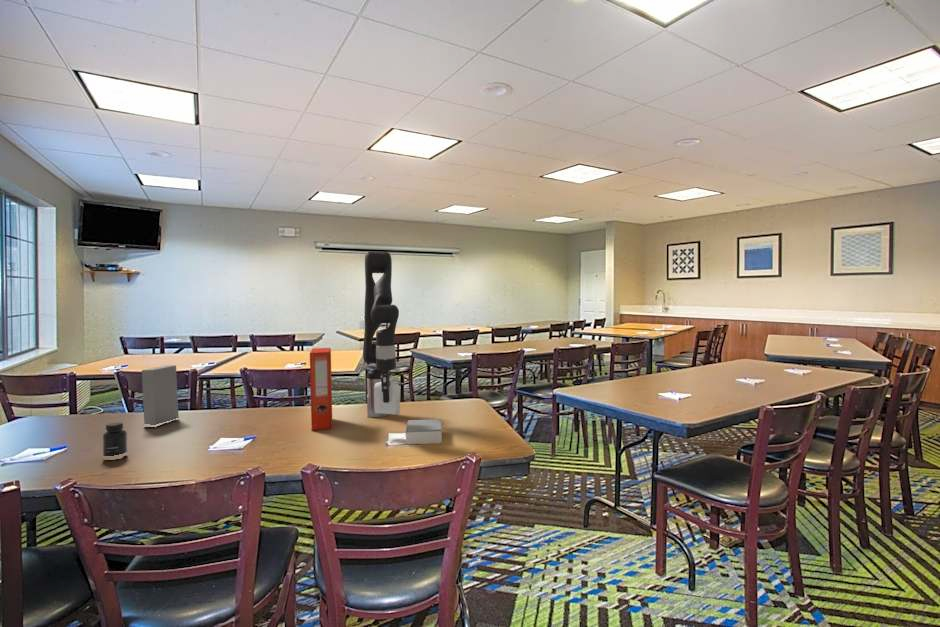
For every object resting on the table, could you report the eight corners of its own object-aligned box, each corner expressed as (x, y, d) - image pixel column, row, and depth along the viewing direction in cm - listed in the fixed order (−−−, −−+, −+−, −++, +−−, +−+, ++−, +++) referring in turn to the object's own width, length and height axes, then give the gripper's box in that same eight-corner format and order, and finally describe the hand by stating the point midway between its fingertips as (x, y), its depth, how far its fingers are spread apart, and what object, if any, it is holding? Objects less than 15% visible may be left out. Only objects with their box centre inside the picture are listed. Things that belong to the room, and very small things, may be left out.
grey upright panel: (167, 419, 221) (164, 365, 220) (179, 420, 220) (176, 365, 219) (142, 428, 207) (139, 370, 206) (155, 428, 206) (152, 370, 205)
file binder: (333, 418, 215) (330, 347, 214) (332, 429, 199) (329, 351, 198) (314, 420, 213) (311, 348, 212) (311, 431, 197) (308, 352, 195)
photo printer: (402, 412, 187) (401, 381, 186) (397, 415, 182) (396, 383, 182) (378, 411, 190) (377, 379, 189) (372, 413, 186) (371, 381, 185)
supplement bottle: (108, 462, 163) (106, 427, 163) (99, 459, 167) (97, 425, 167) (131, 456, 169) (129, 422, 169) (122, 453, 173) (120, 420, 172)
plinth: (406, 444, 176) (405, 430, 176) (408, 432, 191) (408, 420, 191) (441, 442, 177) (441, 429, 177) (441, 431, 192) (441, 418, 192)
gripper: (378, 354, 192) (379, 396, 193) (373, 359, 177) (374, 405, 178) (397, 354, 192) (398, 396, 193) (394, 359, 178) (395, 404, 179)
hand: (387, 400), depth 186 cm, fingers closed on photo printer, 5 cm apart
